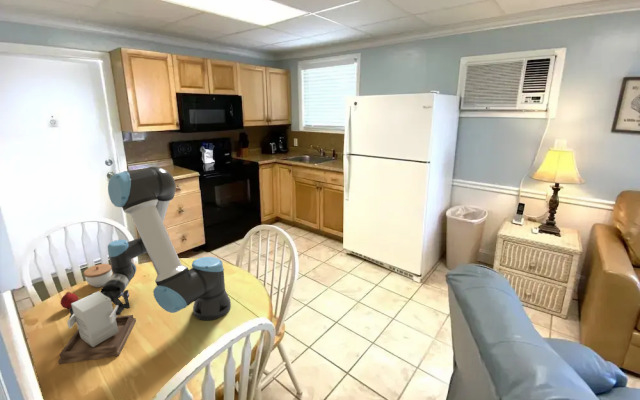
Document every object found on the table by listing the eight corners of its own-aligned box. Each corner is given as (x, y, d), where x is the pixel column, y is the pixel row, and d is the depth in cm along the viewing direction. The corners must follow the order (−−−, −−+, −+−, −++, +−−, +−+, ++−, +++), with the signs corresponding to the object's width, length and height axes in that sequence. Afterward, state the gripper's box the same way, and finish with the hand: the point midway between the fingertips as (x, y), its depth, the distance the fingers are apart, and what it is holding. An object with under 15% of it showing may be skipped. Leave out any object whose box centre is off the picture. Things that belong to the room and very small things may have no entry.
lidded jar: (88, 292, 141) (83, 274, 139) (86, 282, 149) (82, 265, 147) (115, 284, 148) (111, 267, 145) (112, 275, 156) (109, 258, 153)
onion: (70, 313, 128) (66, 297, 125) (59, 311, 129) (54, 295, 126) (83, 305, 133) (79, 289, 131) (72, 303, 134) (68, 287, 132)
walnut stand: (136, 321, 124) (134, 313, 123) (119, 355, 108) (117, 347, 107) (85, 327, 120) (83, 319, 119) (59, 364, 104) (56, 355, 103)
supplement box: (106, 323, 119) (98, 290, 115) (119, 332, 115) (111, 298, 110) (79, 338, 112) (70, 303, 107) (92, 348, 108) (82, 312, 103)
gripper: (148, 291, 131) (131, 326, 111) (83, 298, 126) (52, 336, 106) (145, 276, 129) (127, 309, 109) (79, 282, 124) (46, 318, 104)
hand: (90, 322), depth 107 cm, fingers closed on supplement box, 12 cm apart
